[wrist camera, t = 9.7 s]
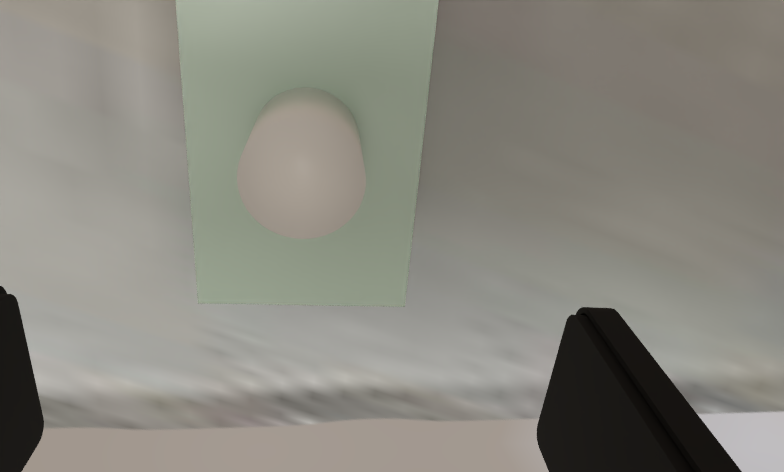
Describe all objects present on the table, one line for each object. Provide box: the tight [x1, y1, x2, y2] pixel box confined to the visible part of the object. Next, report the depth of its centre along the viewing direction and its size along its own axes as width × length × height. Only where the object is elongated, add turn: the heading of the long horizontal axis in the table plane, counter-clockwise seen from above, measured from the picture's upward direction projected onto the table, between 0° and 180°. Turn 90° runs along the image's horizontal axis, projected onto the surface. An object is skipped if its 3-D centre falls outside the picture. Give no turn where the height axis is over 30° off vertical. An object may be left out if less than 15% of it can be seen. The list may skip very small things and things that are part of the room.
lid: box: [175, 0, 439, 307], centre depth 20 cm, size 9×15×6 cm, turn 175°
